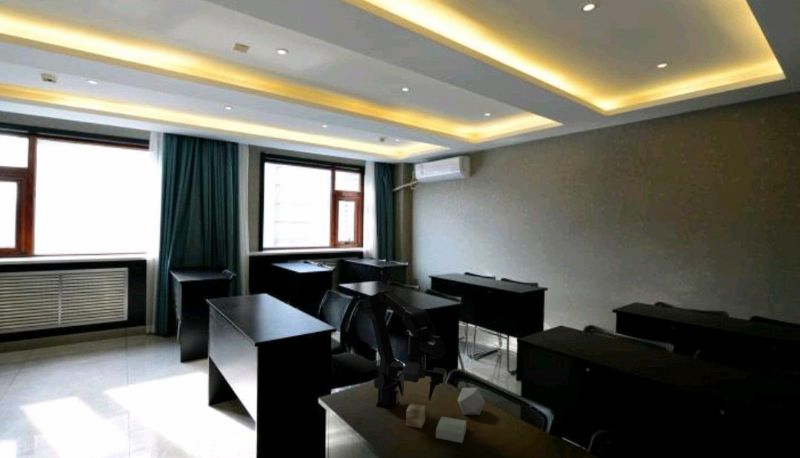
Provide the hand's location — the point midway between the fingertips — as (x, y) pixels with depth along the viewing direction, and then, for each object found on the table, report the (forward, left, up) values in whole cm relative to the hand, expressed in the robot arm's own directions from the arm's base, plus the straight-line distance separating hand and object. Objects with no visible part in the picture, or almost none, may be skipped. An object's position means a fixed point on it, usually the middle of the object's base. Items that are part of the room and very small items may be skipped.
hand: (415, 398), depth 122 cm
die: (+16, +13, -8) cm, 22 cm away
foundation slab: (+12, -2, -9) cm, 15 cm away
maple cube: (0, 0, -8) cm, 8 cm away
